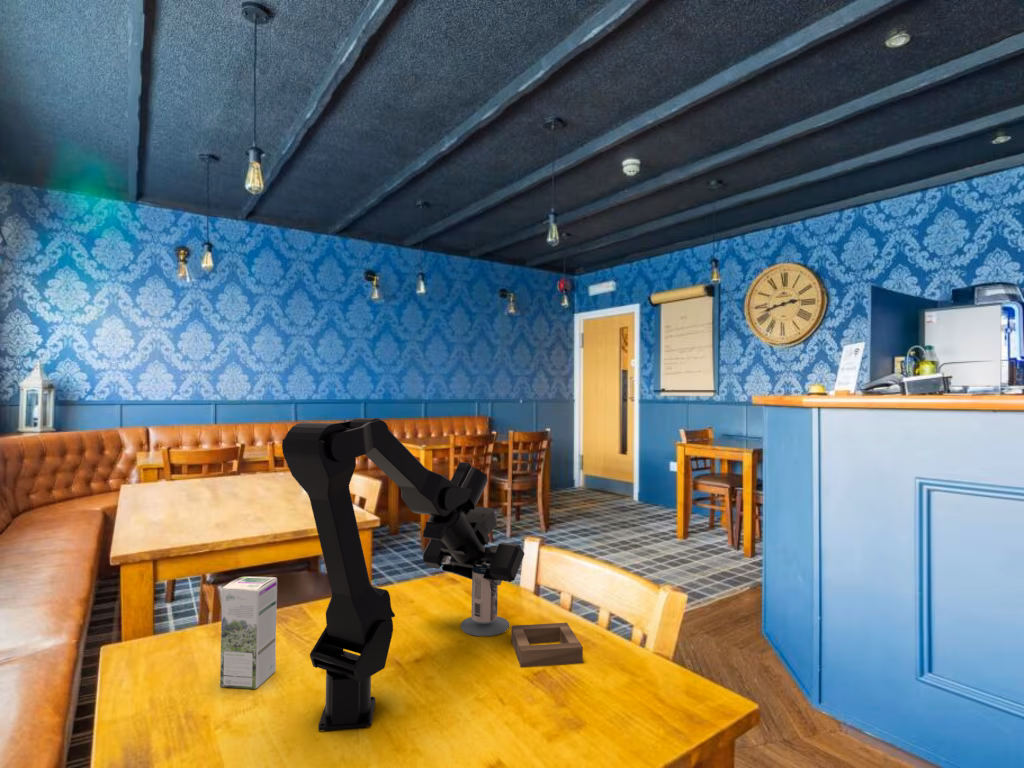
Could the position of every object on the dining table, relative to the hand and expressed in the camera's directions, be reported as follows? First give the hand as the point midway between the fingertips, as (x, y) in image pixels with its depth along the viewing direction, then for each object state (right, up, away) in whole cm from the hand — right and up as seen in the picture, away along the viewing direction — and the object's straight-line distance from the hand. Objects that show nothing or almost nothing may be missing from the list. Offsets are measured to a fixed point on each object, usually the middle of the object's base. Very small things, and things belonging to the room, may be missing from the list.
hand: (488, 580), depth 103 cm
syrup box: (-35, -7, -22) cm, 42 cm away
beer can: (-1, -7, -2) cm, 7 cm away
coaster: (-1, -8, -1) cm, 8 cm away
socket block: (+10, -8, -11) cm, 17 cm away
